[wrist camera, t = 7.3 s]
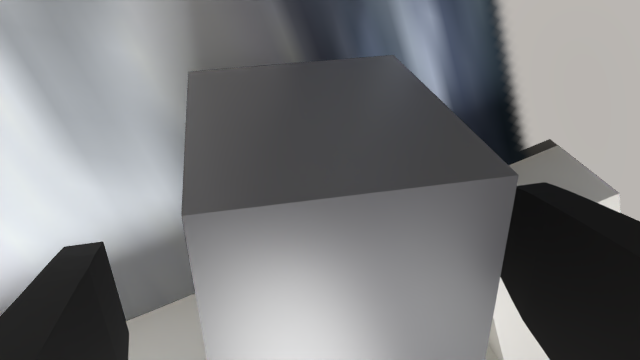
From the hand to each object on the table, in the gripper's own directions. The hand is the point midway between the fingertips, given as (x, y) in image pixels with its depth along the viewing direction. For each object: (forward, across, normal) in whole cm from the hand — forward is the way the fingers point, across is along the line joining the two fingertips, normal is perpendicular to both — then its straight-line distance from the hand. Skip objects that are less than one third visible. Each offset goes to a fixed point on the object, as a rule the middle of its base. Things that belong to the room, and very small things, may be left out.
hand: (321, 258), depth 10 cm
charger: (+4, 0, 0) cm, 4 cm away
